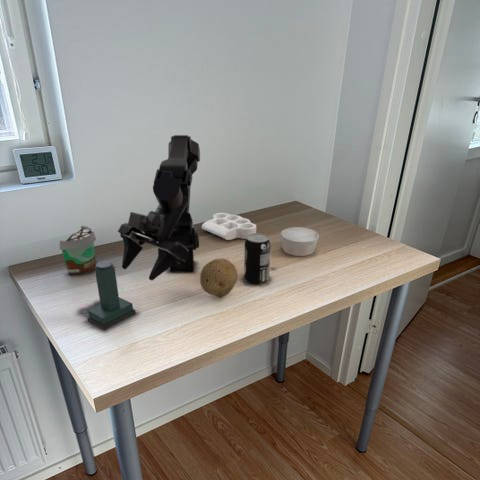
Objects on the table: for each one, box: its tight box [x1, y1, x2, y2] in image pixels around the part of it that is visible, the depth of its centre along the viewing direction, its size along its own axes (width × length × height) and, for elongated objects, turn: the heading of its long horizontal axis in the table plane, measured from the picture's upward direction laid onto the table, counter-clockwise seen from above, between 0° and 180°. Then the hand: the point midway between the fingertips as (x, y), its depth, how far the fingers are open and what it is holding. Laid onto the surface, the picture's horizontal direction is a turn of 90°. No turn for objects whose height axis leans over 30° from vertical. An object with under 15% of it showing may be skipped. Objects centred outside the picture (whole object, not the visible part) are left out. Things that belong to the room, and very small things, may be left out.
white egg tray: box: [201, 212, 257, 241], centre depth 151 cm, size 3×18×15 cm
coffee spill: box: [79, 301, 101, 318], centre depth 110 cm, size 7×6×1 cm
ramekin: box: [280, 226, 320, 257], centre depth 138 cm, size 11×11×5 cm
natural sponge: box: [199, 257, 238, 298], centre depth 112 cm, size 9×9×10 cm
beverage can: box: [243, 232, 272, 286], centre depth 120 cm, size 7×7×12 cm
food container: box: [59, 225, 97, 276], centre depth 125 cm, size 12×6×10 cm, turn 168°
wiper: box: [86, 260, 137, 331], centre depth 103 cm, size 9×6×13 cm, turn 142°
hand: (136, 274), depth 108 cm, fingers open, 9 cm apart
